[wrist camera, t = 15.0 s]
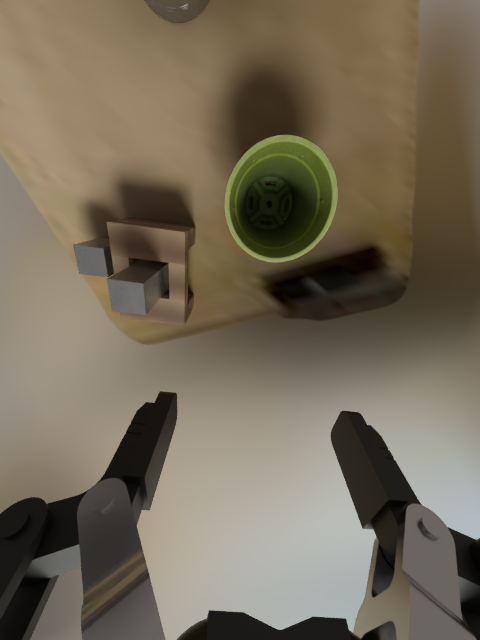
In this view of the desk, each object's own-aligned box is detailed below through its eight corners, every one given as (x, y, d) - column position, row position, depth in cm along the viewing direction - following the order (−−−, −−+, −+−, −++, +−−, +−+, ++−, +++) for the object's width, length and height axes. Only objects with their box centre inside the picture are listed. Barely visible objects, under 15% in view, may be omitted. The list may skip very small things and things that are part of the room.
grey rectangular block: (102, 237, 36) (73, 244, 30) (127, 240, 36) (103, 248, 30) (106, 261, 38) (79, 273, 32) (130, 264, 38) (108, 277, 32)
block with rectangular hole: (131, 218, 34) (106, 221, 28) (195, 226, 35) (185, 232, 29) (139, 300, 41) (120, 317, 35) (193, 306, 41) (184, 325, 35)
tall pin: (152, 252, 37) (106, 278, 24) (176, 256, 37) (143, 283, 25) (154, 276, 39) (112, 310, 26) (177, 279, 39) (145, 315, 27)
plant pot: (248, 257, 37) (250, 278, 27) (216, 181, 32) (204, 172, 22) (318, 226, 34) (348, 236, 25) (295, 138, 29) (322, 106, 19)
